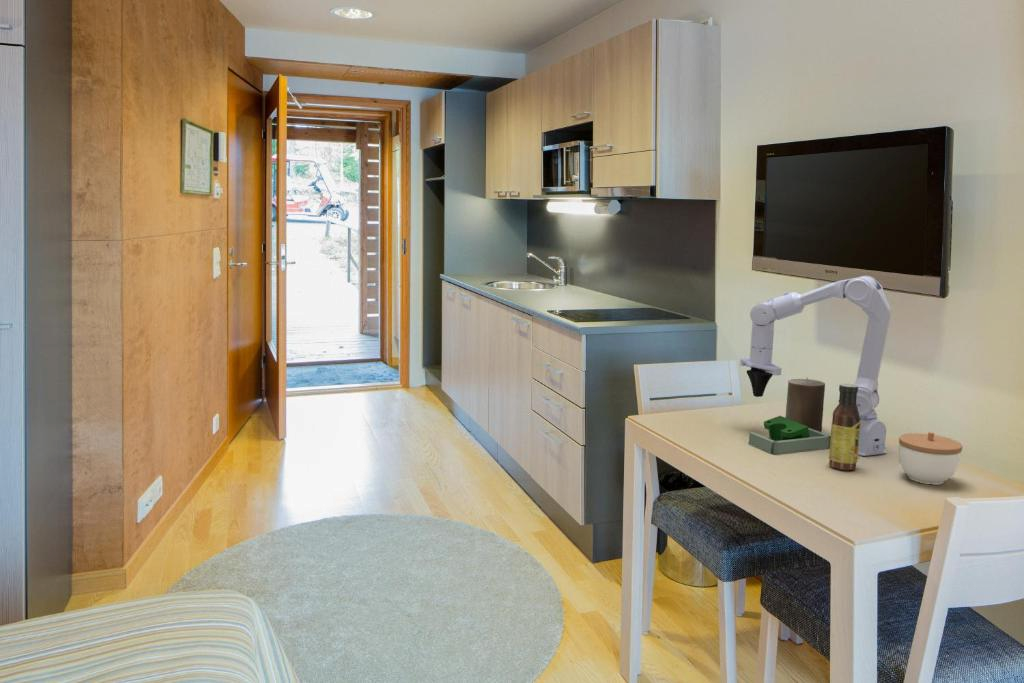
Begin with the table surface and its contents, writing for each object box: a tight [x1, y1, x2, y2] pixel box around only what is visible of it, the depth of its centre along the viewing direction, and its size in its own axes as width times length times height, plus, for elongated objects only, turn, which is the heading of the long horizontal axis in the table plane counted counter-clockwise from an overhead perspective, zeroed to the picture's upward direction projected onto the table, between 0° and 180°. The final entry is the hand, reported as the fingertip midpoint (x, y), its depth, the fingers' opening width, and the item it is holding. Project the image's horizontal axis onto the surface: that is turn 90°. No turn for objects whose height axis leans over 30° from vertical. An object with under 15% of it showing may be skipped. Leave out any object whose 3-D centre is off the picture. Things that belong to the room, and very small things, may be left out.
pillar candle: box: [784, 377, 826, 432], centre depth 216 cm, size 10×10×15 cm
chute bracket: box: [748, 428, 831, 456], centre depth 201 cm, size 10×18×3 cm, turn 112°
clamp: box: [763, 415, 809, 441], centre depth 203 cm, size 12×6×9 cm, turn 12°
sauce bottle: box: [828, 383, 861, 471], centre depth 184 cm, size 6×6×20 cm
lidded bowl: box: [898, 431, 963, 486], centre depth 177 cm, size 13×13×11 cm
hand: (758, 396), depth 213 cm, fingers closed
